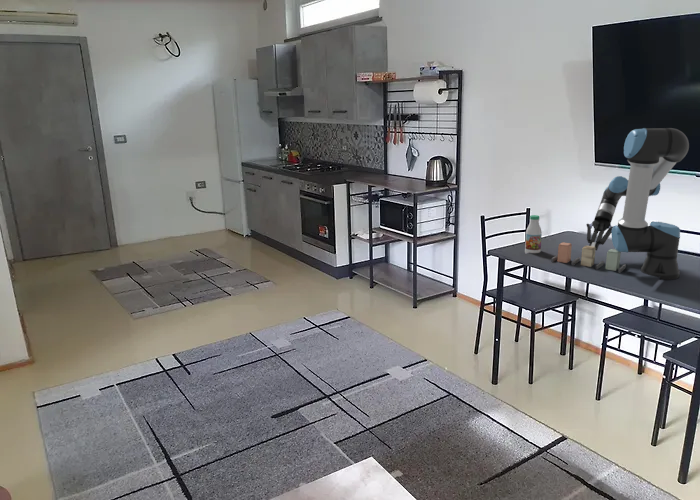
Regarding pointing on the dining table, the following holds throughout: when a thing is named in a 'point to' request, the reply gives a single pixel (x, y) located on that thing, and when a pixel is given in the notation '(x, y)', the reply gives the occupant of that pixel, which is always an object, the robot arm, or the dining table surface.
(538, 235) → the milk bottle
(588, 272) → the dining table surface
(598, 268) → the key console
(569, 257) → the salmon pink block
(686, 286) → the dining table surface
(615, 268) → the sage green block
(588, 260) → the birch key
